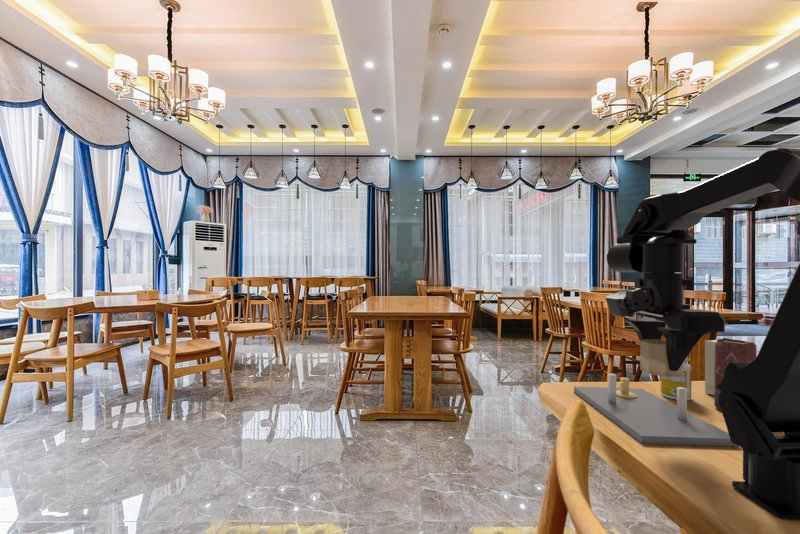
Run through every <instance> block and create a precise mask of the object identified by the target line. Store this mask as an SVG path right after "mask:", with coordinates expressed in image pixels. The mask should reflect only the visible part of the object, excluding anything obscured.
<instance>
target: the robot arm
mask: <svg viewBox="0 0 800 534" xmlns="http://www.w3.org/2000/svg"><path fill="white" fill-rule="evenodd" d="M778 190H779V192H781V194H782V195H784V196H786V197H789V198H791V199H793V200H796V201H798V202H800V148H790V147H789V148H787V147H777V148H774V149H771V150H768V151H766V152H764V153H762V154H761V155H759V157H757V158H755V159H753V160H750V161H749V162H746V163H744V164H741V165H740V166H738V167H737V166H736V167H735V168H733V169H730V170H728V171H726V172H724V173H720V174H719V175H717V176H714V177H713V178H710V179H708V180H706V181H704V182H702V183H699V184H697V185H694V186H692V187H690V188H687V189H685V190H681V191H676V192H671V193H669V192H668V193H663V194H662V193H661V194H657V195H654V196H649V197H646V198H644V199H642V200H641V201H640V202H639V203H638V205H637V208H636V209H635V211H634V213H633V214H632V217H631V219H630V221H629V223H628V224H627V226H626V227H625V229H624V233H623V234H622V236H619V237H617V238H616V243H615V244H613V245H612V246H611V247H610V248H609V250H608V253H607V254H606V262H607V265H608V266H609V268H610V269H611V270H612V271H614V272H617V273H641V278H640V277H639V278H635V280H634V286H633V287H631V288H627V289H623V290H621V291H617V292H613V293H611V294H608V295H606V296H605V298H604V299H605V301H606V303H607V304H606V305H607V306H608V310H609V314H610V315H612V316H617V317H620V318H624V319H623V322H625V323H627V324H628V325H629V326H630V327H632V328H633V329H634V330H635V332H636V335H637V337H638V339H639V342H640V341H641V340H643V339H659V340H662V339H663V338H662V337H663V336H664V338H665V340H666V345H667V357H668V365H669V369H670V370H671V371H678V370H679V368H680V367H681V365H682V364H683V362H684V361H685V359H686V357H687V356H689V354H690V353H691V351H693V348H695V346H696V345H697V343H698V342H699V341H700V340H701V339H702V338H703V336H704V335H708V334H709V332H711V333H712V332H713V333H714V332H715V333H725V332H726V331H725V330H726V318H725V317H724V316H723V315H722V314H721V313H720V312H719V311H714V310H713V311H712V310H706V309H691V305H690V304H687V303H686V304H685V303H684V296H685V295H684V294H685V293H684V291H685V290H684V288H685V287H687V286H688V287H690V286H691V279H689V278H688V279H686V278H685V246H686V245H695V244H697V241H698V240H697V239H696V238H694V237H693V236H691V235H690V234H689V233H688V232H687V230H688V229H690V228H692V227H694V226H696V225H698V224H699V223H700V222H701V220H702V219H703V218H704V217H706V216H708V215H709V214H712V213H715V212H718V211H721V210H723V209H726V208H729V207H732V206H735V205H737V204H740V203H743V202H746V201H749V200H752V199H755V198H758V197H760V196H763V195H766V194H768V193H772V192H776V191H778ZM684 286H685V287H684ZM626 317H627V318H626ZM666 326H667V327H666ZM765 335H766V336H765V338H764V340H763V342H762V344H761V346H760V349H759V351H758V354H757V355H756V358H755V359H754V360H753V361H751V362H731V363H729V364H728V366H727V367H726V369H725V374H724V378H723V380H722V382H721V383H720V384H719V385H718V386H716V388H717V389H720V390H721V391H720V393H719V397H718V404H719V406H720V407H721V410H722V411H721V413H722V417H723V420H724V423H725V425H726V429H727V433H729V436H730V439H731V442H732V443H734V444H736V445H738V446H739V447H740V448H741V449H742V480H744V481H737V480H734V481H731V486H732V487H733V488H734V489H736V490H738V491H739V492H741V493H742V494H743V495H745V496H747V497H748V498H750V499H751V500H753V501H754V502H756V503H757V504H759V505H760V506H762V507H763V508H765V509H766V510H767V511H768V512H771V513H772V514H773V515H775V516H776V517H779V518H782V519H789V520H790V519H792V520H795V519H796V520H800V262H799V263H798V266H797V267H796V270H795V272H794V274H793V276H792V279H791V281H790V283H789V285H788V288H787V289H786V292H785V293H784V296H783V298H782V301H781V303H780V304H779V306H778V309H777V311H776V313H775V316H774V318H773V320H772V323H771V325H770V327H769V329H768V331H767V333H766V334H765ZM774 433H783V434H784V435H774Z"/></svg>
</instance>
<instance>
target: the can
mask: <svg viewBox="0 0 800 534" xmlns="http://www.w3.org/2000/svg"><path fill="white" fill-rule="evenodd" d="M716 340H717V342H716V343H715V387H714V396H713V397H714V406H715V408H716V410H718V411H720V412H722V410H721V407H720V406H719V404H718V397H719V393H720V391H721V390H720V389H717V388H716V386H718V385H719V384H720V383H721V382H722V380H723V378H724V374H725V369H726V367H727V366H728V364H729V363H731V362H751V361H753V360H754V359H755V358H756V357H757V355H758V354H757V345H756V343H755V342H753V341H746V340H740V339H733V338H732V339H729V338H718V339H716Z"/></svg>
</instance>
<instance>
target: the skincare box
mask: <svg viewBox="0 0 800 534" xmlns="http://www.w3.org/2000/svg"><path fill="white" fill-rule="evenodd" d="M716 342H717V339H713V340H712V339H711V340H710V339H708V340H706V339H705V340H704V393H705V394H707V395H710V394H711V396H713V395H714V387H715V343H716Z"/></svg>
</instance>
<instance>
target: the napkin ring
mask: <svg viewBox="0 0 800 534" xmlns="http://www.w3.org/2000/svg"><path fill="white" fill-rule="evenodd" d="M639 343H640V345H639V347H640V350H639V351H640V353H639V355H640V356H639V357H640V358H639V362H640V363H639V370H640V371H642V372H643V373H646V374H649V375H654V376H658V377H659V376H660V377H661V376H664V377H681V376H682V375H683V364H682V365H681V367H680V368H679V370H678V371H671V370H670V369H669V365H668V357H667V345H666V339H661V340H659V339H643V340H641V341H640V340H639Z"/></svg>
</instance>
